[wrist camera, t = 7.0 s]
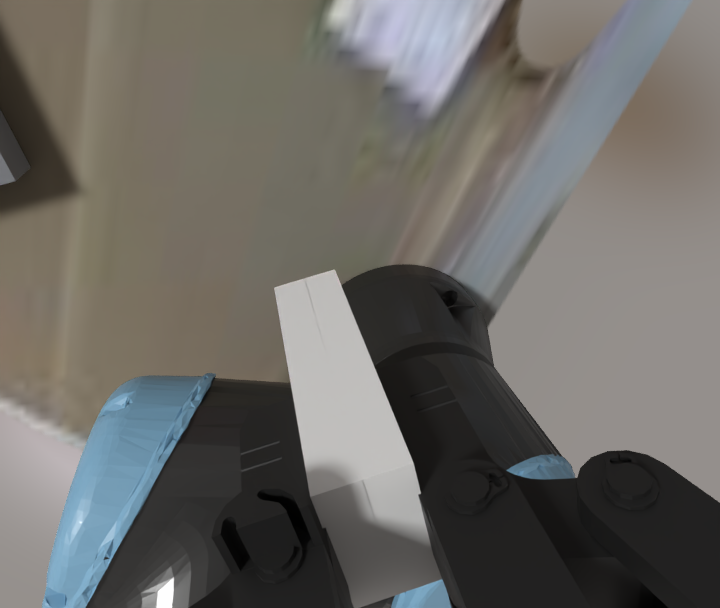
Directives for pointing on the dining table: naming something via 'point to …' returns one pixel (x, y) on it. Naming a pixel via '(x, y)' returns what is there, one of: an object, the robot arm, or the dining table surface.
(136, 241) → the dining table surface
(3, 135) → the rocker switch box
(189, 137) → the dining table surface
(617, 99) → the dining table surface
